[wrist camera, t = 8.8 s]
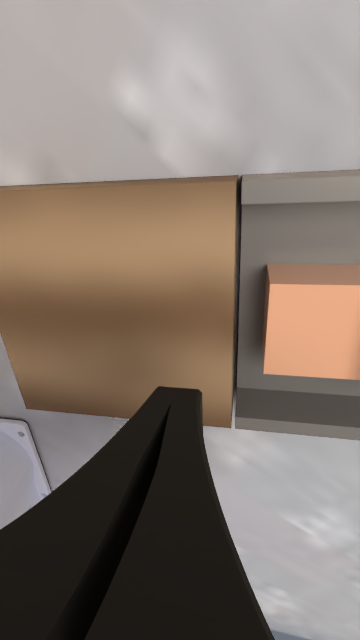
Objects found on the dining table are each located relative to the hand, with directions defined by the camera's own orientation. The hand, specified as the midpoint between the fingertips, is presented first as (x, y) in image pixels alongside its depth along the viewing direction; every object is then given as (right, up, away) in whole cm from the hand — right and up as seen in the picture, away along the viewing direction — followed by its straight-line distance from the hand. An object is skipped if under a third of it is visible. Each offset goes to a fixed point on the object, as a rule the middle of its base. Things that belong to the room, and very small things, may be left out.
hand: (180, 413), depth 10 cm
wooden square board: (-3, +4, +8) cm, 10 cm away
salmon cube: (+6, +3, +6) cm, 9 cm away
